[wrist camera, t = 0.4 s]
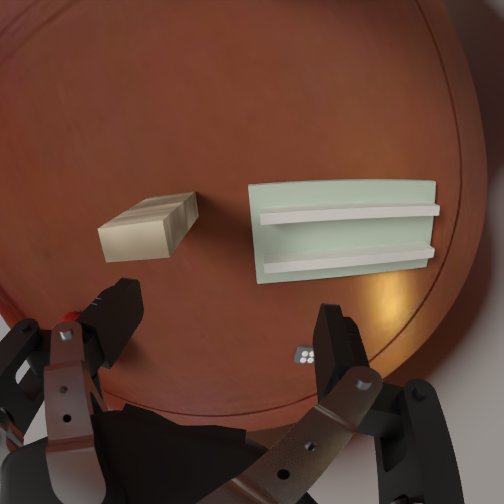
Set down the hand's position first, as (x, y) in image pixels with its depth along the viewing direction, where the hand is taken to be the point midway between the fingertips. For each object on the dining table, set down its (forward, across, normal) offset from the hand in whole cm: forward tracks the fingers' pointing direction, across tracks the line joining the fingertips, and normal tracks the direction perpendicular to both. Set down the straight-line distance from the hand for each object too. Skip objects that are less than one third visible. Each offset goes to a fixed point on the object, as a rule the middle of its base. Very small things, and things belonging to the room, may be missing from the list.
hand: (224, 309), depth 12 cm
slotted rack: (+22, -11, +3) cm, 25 cm away
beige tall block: (+20, +10, +2) cm, 23 cm away
